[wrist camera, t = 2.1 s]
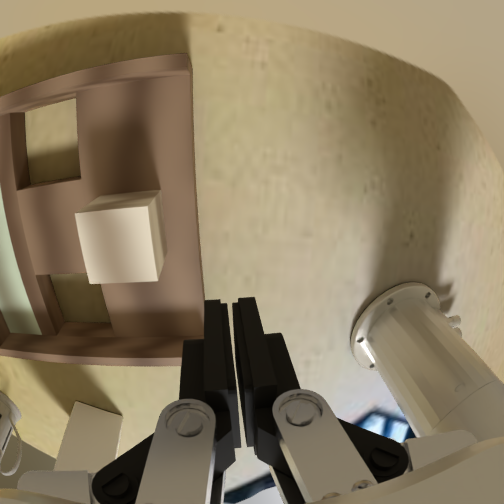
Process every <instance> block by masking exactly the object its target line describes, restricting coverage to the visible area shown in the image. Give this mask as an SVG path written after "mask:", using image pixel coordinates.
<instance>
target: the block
mask: <svg viewBox="0 0 504 504" xmlns="http://www.w3.org/2000/svg"><path fill="white" fill-rule="evenodd" d="M75 218H76V224H77V229H78V234H79V239H80V244H81V249H82V254H83V258H84V262H85V267H86V271H87V275H88V279H89V283H90V284H104V283H129V282H151V281H158V279H159V276H160V273H161V270H162V267H163V264H164V261H165V258H166V255H167V252H168V251H167V243H166V234H165V225H164V215H163V205H162V194H161V190H152V191H141V192H131V193H121V194H112V195H103V196H99V197H98V198H96V199H95V200H93V201H92V202H90V203H89V204H88V205H86V206H85V207H83V208H82V209H80V210H79V211H78V212H76V213H75Z"/></svg>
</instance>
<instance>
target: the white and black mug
mask: <svg viewBox="0 0 504 504" xmlns="http://www.w3.org/2000/svg"><path fill="white" fill-rule="evenodd" d="M20 419H21V413H20V411H19V409H18V408H17V406H16V405H15V404H14V403H13V402H12V401H11V400H10V399H9V398H8V397H7V396H6V395H5V394H3V393H2V392H0V463H1V459H2V456H3V454H4V451H5V449H6V446H7V443H8V441H9V438H10V436H11V434H12V431H13V429H14V430H15V433H16V435H17V440H18V453H17V458H16V461H15V464H14V466H13V468H12V469H11V470H10V471H8V472H3V471H2V470H1V467H0V472H1V473H2V474H4V475H12V474H14V472H16V470H17V468H18V466H19V463H20V460H21V454H22V443H21V438H20V436H19V433H18V431H17V429H16V427H15V424H16V422H17V421H19V420H20Z"/></svg>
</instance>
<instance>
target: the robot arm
mask: <svg viewBox="0 0 504 504" xmlns="http://www.w3.org/2000/svg"><path fill="white" fill-rule="evenodd" d="M232 309H233V327H234V344H235V360H236V371H237V379H238V386H239V394H240V401H241V409H242V416H243V423H244V430H245V437H246V444H247V447H253V446H254V452H255V455H257V457H258V459H259V460H261V461H263V462H265V463H266V464H268V465H269V468H270V472H271V474H272V476H273V479H274V481H275V484H276V486H277V488H278V491H279V493H280V496H281V498H282V501H283V503H284V504H504V384H503V383H502V381H501V380H500V379H499V378H498V377H497V376H496V374H495V373H494V372H493V371H492V370H491V369H490V368H489V367H488V365H487V364H486V363H485V362H484V361H483V360H482V359H481V358H480V357H479V356H478V355H477V353H476V352H475V351H474V350H473V349H472V348H471V347H470V346H469V345H468V344H467V343H466V342H465V341H464V340H463V339H462V332H461V330H460V328H458V327H457V328H452V327H454V326H458V325H460V322H461V319H460V317H459V316H458V315H456V316H452V317H449V318H447V317H446V316H445V315H444V314H443V313H442V312H441V311H440V302H439V299H438V297H437V295H436V294H435V292H434V291H433V290H432V289H430V288H429V287H428V286H426V285H424V284H422V283H416V282H411V283H404V284H401V285H398V286H395V287H393V288H391V289H389V290H387V291H386V292H384V293H383V294H382V295H380V296H379V297H377V298H376V299H375V300H374V301H373V302H372V303H371V304H370V305H369V306H368V307H367V308H366V309H365V311H364V312H363V313H362V315H361V316H360V318H359V319H358V321H357V323H356V325H355V327H354V329H353V333H352V336H351V351H352V354H353V356H354V358H355V360H356V361H357V362H358V364H359V365H361V366H362V367H363V368H365V369H368V370H374V371H378V372H379V374H380V375H381V377H382V379H383V380H384V382H385V384H386V385H387V387H388V389H389V390H390V392H391V394H392V395H393V397H394V399H395V401H396V402H397V404H398V406H399V407H400V409H401V411H402V412H403V414H404V416H405V418H406V419H407V421H408V423H409V425H410V426H411V428H412V430H413V432H414V433H415V435H416V437H417V438H412V439H406V441H405V442H403V443H398V442H396V441H394V440H392V439H390V438H387V437H384V436H381V435H379V434H376V433H373V432H371V431H368V430H366V429H363V428H361V427H358V426H356V425H353V424H351V423H348V422H346V421H343V420H341V419H339V418H336V416H335V415H334V413H333V411H332V410H331V408H330V407H329V405H328V403H327V402H326V401H325V399H324V398H323V397H322V396H320V395H319V394H317V393H316V392H313V391H310V390H304V389H300V386H299V383H298V380H297V377H296V374H295V371H294V368H293V365H292V362H291V359H290V356H289V353H288V350H287V347H286V344H285V341H284V338H283V335H282V333H272V334H264V331H263V327H262V324H261V320H260V316H259V312H258V308H257V304H256V300H255V297H247V298H238V302H237V303H232ZM234 448H241V437H240V425H239V412H238V398H237V387H236V378H235V370H234V361H233V353H232V344H231V335H230V326H229V317H228V308H227V303H223V304H221V302H220V299H218V300H204V339H189V340H184V341H183V351H182V363H181V377H180V392H179V400H178V401H174V402H172V403H171V404H169V405H167V406H166V407H165V408H164V409H163V410H162V412H161V414H160V416H159V419H158V422H157V426H156V429H155V432H154V433H153V434H152V435H150V436H149V437H147V438H146V439H144V440H143V441H142V442H140V443H139V444H137V445H136V446H134V447H133V448H132V449H130V450H129V451H127V452H126V453H124V454H123V455H121V456H120V457H118V458H117V459H115V460H114V461H112V462H111V463H109V464H108V465H106V466H104V467H103V468H102V469H100V470H99V471H98V472H97V473H89V472H88V470H83V471H37V470H34V471H28V472H26V473H25V474H23V475H22V476H21V478H20V479H19V482H18V486H17V490H16V489H0V504H223V499H224V488H225V477H226V471H225V470H226V469H227V468H228V467H229V466H230V465H231V464H233V463H234V462H235V461H236V459H235V450H234Z"/></svg>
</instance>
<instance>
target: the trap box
mask: <svg viewBox="0 0 504 504" xmlns="http://www.w3.org/2000/svg"><path fill="white" fill-rule="evenodd" d="M73 98H76V110H77V134H78V148H79V160H80V170H81V176H78V177H72V178H66V179H60V180H54V181H49V182H43V183H38V184H33V185H30V178H29V170H28V160H27V149H26V135H25V112H27V111H30V110H33V109H37V108H40V107H43V106H47V105H50V104H54V103H58V102H61V101H65V100H69V99H73ZM152 190H161V194H162V205H163V215H164V225H165V234H166V243H167V251H168V252H167V255H166V258H165V261H164V264H163V267H162V270H161V273H160V276H159V279H158V281H151V282H129V283H104V284H101V288H102V292H103V295H104V299H105V303H106V307H107V310H108V314H109V317H110V321H111V323H86V322H65V321H64V318H63V315H62V313H61V310H60V307H59V304H58V301H57V298H56V295H55V291H54V288H53V285H52V282H51V278H50V275H49V274H70V273H87V271H86V267H85V262H84V258H83V254H82V249H81V244H80V239H79V234H78V229H77V224H76V218H75V213H76V212H78V211H79V210H80V209H82V208H83V207H85V206H86V205H88V204H89V203H90V202H92V201H93V200H95V199H96V198H98V197H99V196H103V195H112V194H121V193H131V192H141V191H152ZM204 300H205V293H204V283H203V272H202V261H201V249H200V237H199V223H198V208H197V192H196V174H195V153H194V125H193V69H192V66H191V63H190V60H189V58H188V55H187V53H180V54H170V55H161V56H153V57H146V58H139V59H133V60H127V61H121V62H116V63H111V64H106V65H101V66H96V67H92V68H88V69H84V70H80V71H76V72H72V73H68V74H65V75H61V76H58V77H54V78H51V79H48V80H45V81H42V82H39V83H36V84H33V85H30V86H27V87H24V88H22V89H19V90H16V91H14V92H11V93H9V94H6V95H4V96H1V97H0V355H1V356H8V357H15V358H22V359H30V360H39V361H48V362H59V363H71V364H86V365H106V366H181V363H182V351H183V341H184V340H189V339H204Z"/></svg>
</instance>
